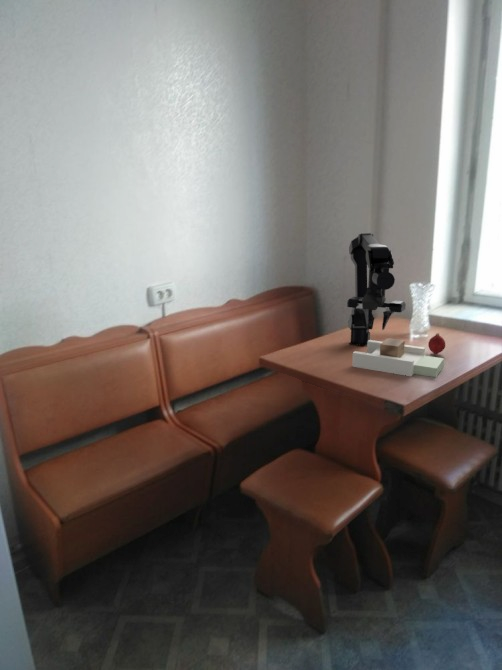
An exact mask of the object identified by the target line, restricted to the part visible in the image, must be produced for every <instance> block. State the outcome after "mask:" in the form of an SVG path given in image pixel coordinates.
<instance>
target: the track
mask: <svg viewBox="0 0 502 670" xmlns="http://www.w3.org/2000/svg"><path fill="white" fill-rule="evenodd" d="M382 342H383V341H379V340H374V339H373V340H372V339H370V340H368V341H367V345H366V352H364V351H358V350H355V351H353V352H352V363H351V364H352V365H351V366H352V368H358V369H365V370H371V371H377V372H383V373H389V374H393V373H394V375H401V376H405V375H406V376H407V377H412V376H413V375H415V374H414V365H415V364H416V362H417V361H418V360H419V359H420V358H421V357H422V356H426V355H425V354H426V353H425V352H426V347H424V346H416V345H411V344H404V354H403V355H402V356H401V357H400V358H397V357H390V356H384V355H380V344H381V343H382Z"/></svg>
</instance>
